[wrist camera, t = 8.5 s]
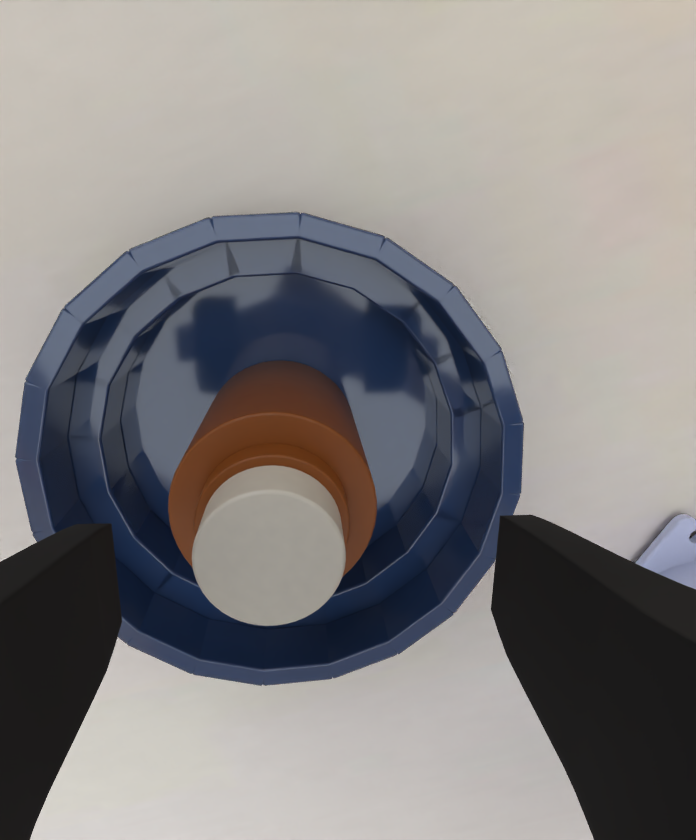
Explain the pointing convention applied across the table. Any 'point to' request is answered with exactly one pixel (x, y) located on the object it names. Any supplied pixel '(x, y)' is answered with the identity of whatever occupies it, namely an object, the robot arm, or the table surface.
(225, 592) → the bottle
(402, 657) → the table surface
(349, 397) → the bowl
